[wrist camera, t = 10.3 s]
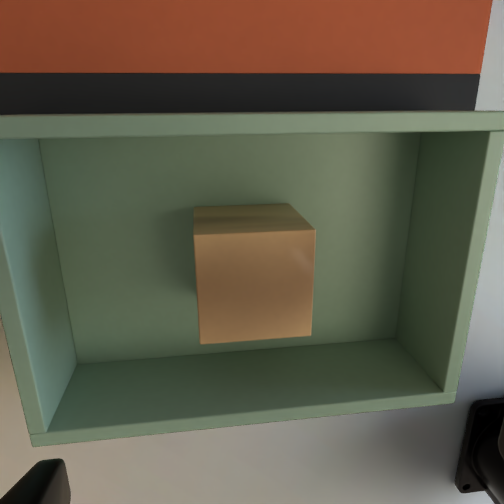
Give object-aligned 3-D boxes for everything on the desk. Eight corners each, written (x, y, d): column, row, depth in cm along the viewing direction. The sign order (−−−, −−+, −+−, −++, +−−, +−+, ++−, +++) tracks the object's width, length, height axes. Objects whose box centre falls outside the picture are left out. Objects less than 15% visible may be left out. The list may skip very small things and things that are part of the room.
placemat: (430, 360, 22) (433, 364, 21) (32, 396, 19) (30, 400, 19) (528, -250, 14) (535, -257, 13) (-130, -321, 11) (-139, -333, 11)
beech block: (287, 290, 18) (311, 336, 15) (198, 295, 18) (199, 345, 14) (289, 202, 17) (316, 229, 13) (193, 206, 17) (193, 235, 13)
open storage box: (401, 344, 21) (455, 403, 17) (68, 371, 19) (31, 448, 15) (432, 110, 17) (511, 110, 13) (19, 114, 15) (-48, 116, 11)
